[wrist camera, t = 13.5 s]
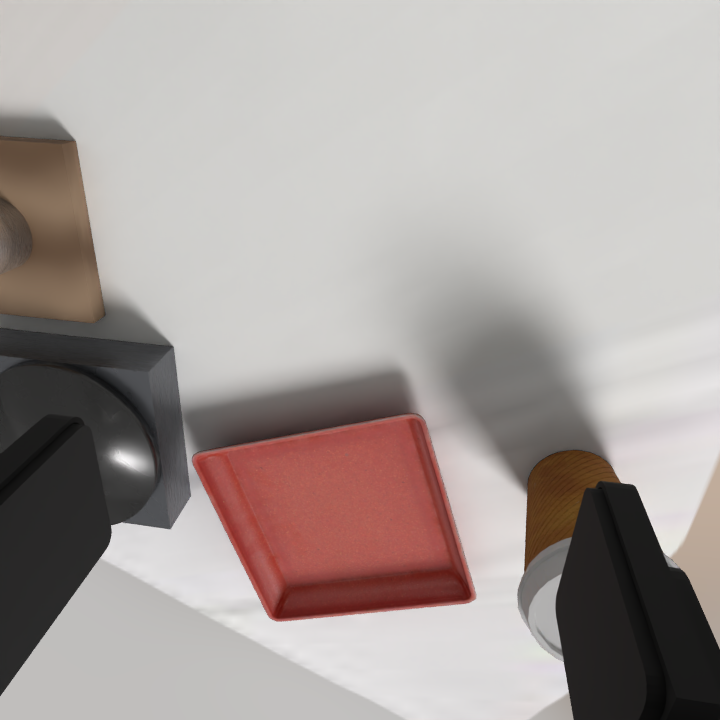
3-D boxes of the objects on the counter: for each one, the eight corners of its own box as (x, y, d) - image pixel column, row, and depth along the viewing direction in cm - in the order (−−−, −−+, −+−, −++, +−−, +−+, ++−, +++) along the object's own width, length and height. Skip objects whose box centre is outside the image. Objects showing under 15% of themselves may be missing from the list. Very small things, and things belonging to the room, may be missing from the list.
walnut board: (-95, 130, 39) (-114, 132, 38) (75, 141, 38) (61, 144, 36) (-45, 300, 45) (-60, 307, 43) (105, 315, 43) (93, 323, 42)
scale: (-6, 323, 46) (-63, 356, 41) (177, 342, 44) (141, 379, 39) (33, 469, 52) (-13, 512, 47) (194, 490, 51) (164, 538, 46)
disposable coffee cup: (495, 523, 47) (505, 660, 36) (518, 421, 42) (538, 543, 32) (620, 543, 46) (668, 689, 35) (657, 441, 41) (726, 573, 31)
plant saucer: (424, 389, 43) (422, 413, 40) (477, 573, 50) (479, 605, 47) (203, 430, 47) (186, 455, 44) (281, 593, 54) (270, 623, 51)
